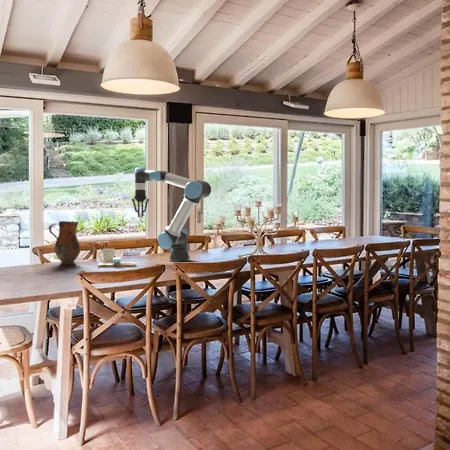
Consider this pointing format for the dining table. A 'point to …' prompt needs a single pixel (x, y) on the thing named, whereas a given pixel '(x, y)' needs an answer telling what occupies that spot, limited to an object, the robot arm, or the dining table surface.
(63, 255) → the pitcher
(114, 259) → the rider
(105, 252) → the mug
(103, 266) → the wooden flat board
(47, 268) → the dining table surface
